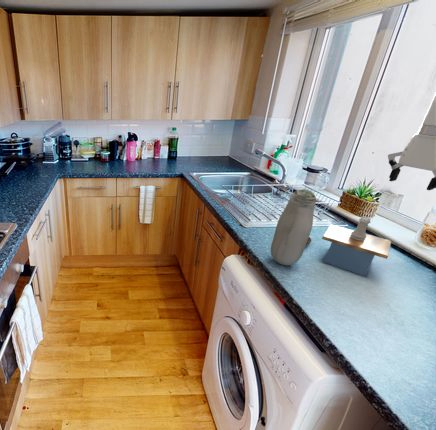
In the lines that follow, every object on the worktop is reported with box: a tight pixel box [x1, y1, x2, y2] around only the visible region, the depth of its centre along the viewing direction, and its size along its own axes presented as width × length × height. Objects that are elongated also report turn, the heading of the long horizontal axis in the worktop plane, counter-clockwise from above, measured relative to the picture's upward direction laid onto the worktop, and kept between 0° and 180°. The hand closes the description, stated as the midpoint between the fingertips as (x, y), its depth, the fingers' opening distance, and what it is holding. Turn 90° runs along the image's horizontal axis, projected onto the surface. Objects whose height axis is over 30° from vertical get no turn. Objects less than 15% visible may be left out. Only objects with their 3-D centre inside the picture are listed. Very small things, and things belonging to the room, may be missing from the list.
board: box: [321, 223, 392, 260], centre depth 102 cm, size 18×14×1 cm
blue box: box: [323, 242, 376, 277], centre depth 104 cm, size 12×12×9 cm
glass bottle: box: [270, 188, 317, 266], centre depth 100 cm, size 10×10×28 cm
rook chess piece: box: [350, 216, 372, 241], centre depth 100 cm, size 4×4×8 cm
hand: (410, 184), depth 94 cm, fingers open, 9 cm apart
